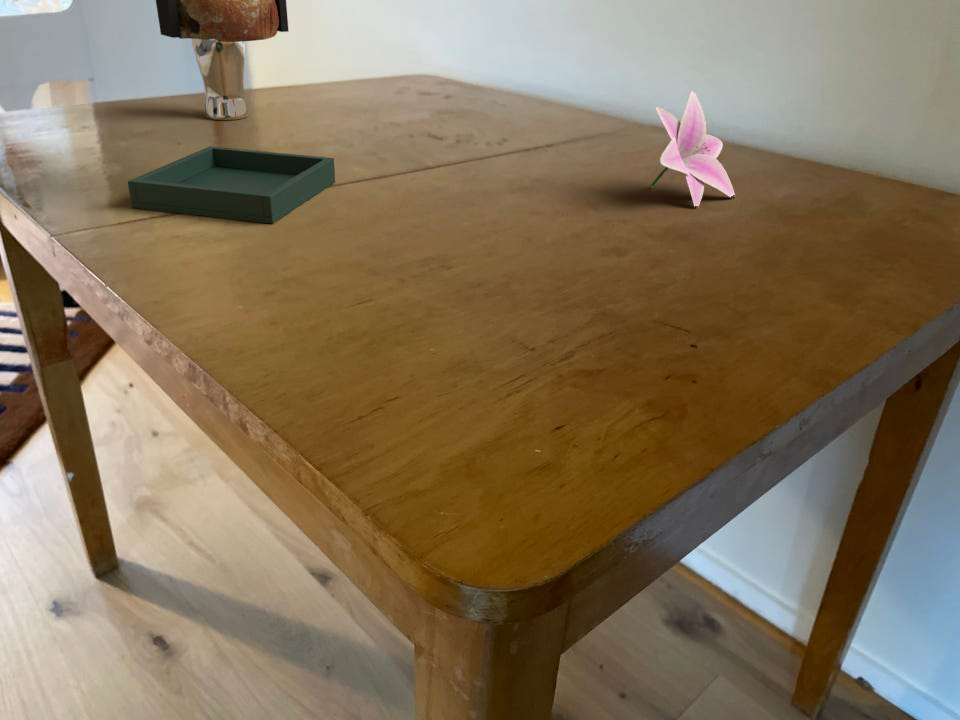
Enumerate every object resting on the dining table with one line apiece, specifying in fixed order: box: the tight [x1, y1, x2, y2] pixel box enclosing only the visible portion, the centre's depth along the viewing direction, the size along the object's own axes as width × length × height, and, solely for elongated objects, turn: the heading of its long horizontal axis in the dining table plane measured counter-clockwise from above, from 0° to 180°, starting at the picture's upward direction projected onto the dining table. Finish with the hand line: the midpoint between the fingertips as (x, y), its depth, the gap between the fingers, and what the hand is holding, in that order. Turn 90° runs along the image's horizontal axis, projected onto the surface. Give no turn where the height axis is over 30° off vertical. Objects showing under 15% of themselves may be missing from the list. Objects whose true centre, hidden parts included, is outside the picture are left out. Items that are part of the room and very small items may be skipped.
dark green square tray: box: [127, 145, 336, 225], centre depth 78 cm, size 15×15×3 cm
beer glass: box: [191, 39, 250, 121], centre depth 108 cm, size 7×7×15 cm
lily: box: [650, 90, 736, 207], centre depth 82 cm, size 12×12×10 cm
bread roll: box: [176, 0, 279, 42], centre depth 73 cm, size 10×10×8 cm
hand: (226, 33), depth 74 cm, fingers closed on bread roll, 10 cm apart
